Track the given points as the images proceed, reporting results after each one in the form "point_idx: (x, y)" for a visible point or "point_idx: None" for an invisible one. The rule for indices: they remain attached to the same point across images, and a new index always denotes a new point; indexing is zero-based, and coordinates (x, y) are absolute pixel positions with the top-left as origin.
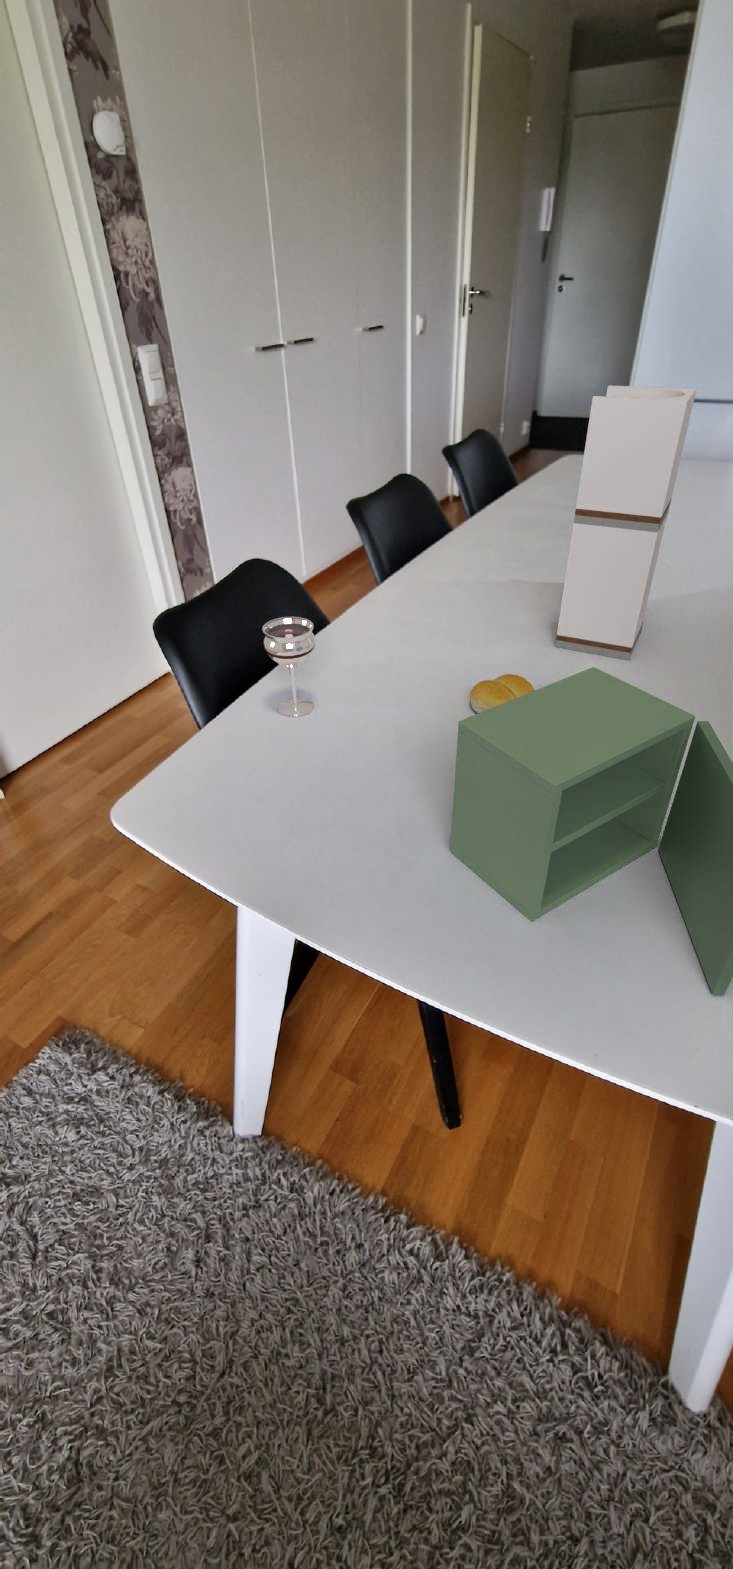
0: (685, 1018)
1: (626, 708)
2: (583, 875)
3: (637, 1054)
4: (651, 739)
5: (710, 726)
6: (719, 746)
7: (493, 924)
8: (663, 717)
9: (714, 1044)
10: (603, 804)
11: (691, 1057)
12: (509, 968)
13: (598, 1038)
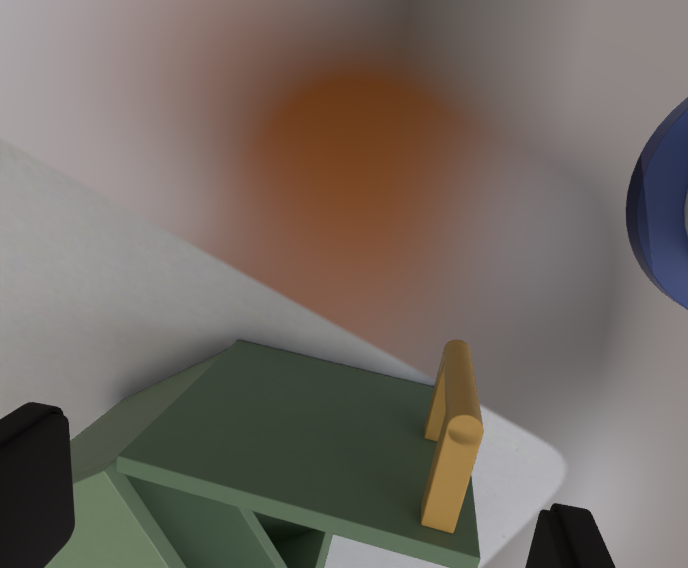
0: (481, 442)
1: (82, 558)
2: None
3: (511, 502)
4: (170, 565)
5: (133, 463)
6: (193, 483)
7: (334, 558)
8: (108, 521)
9: (516, 431)
10: (223, 510)
11: (525, 459)
12: (392, 565)
13: (486, 526)
